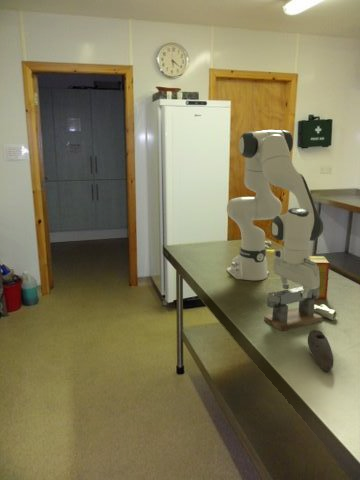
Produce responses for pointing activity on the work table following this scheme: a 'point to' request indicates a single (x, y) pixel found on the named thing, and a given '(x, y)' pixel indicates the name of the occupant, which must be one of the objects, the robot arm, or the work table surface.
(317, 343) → the perforated stone tool
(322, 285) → the baking soda box
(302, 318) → the peg stand
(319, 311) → the pipe fitting
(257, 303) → the work table surface
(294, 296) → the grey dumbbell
